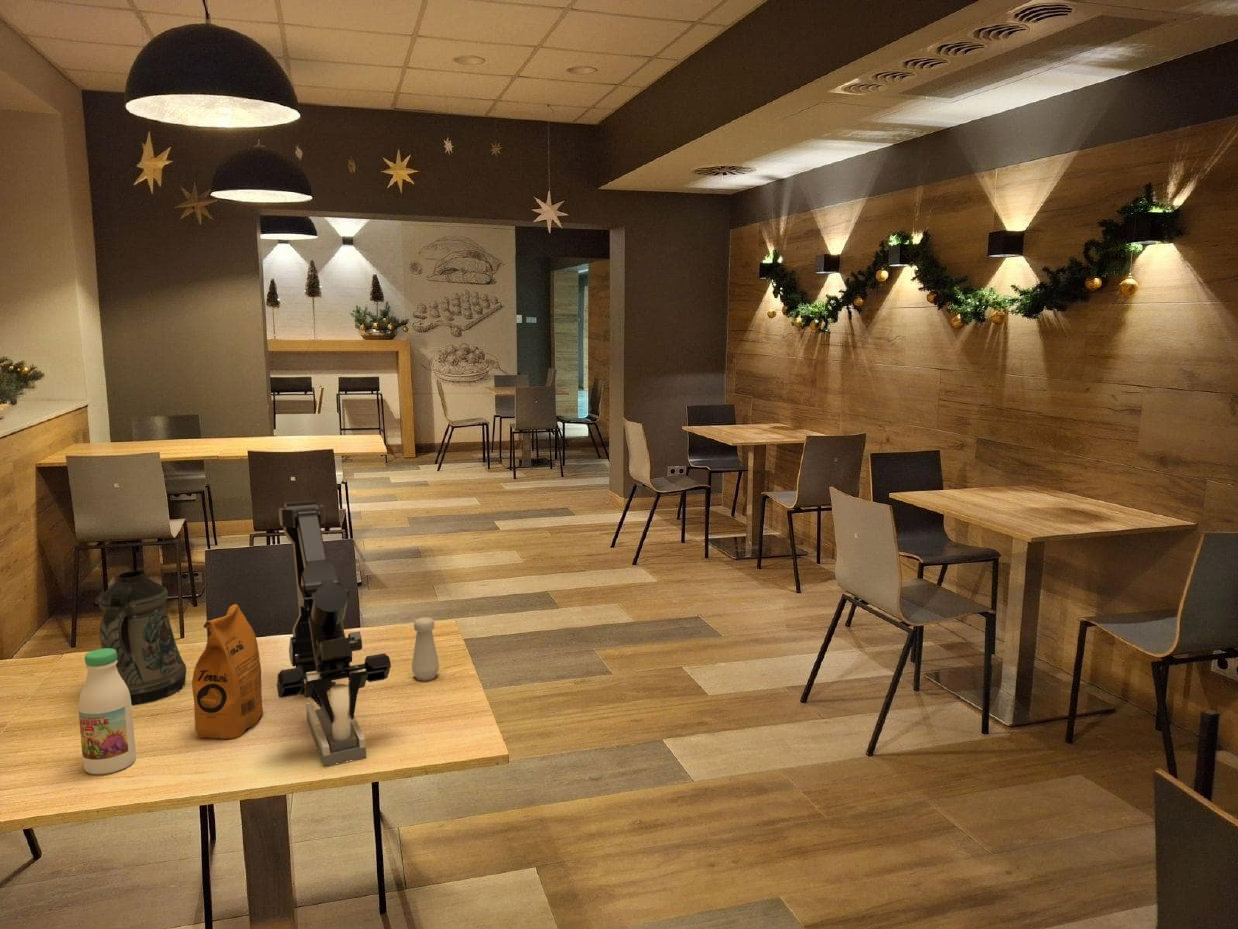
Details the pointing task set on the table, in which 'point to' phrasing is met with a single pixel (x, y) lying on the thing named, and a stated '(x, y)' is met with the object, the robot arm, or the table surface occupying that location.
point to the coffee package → (228, 679)
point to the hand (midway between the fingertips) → (342, 720)
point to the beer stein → (141, 637)
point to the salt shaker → (424, 650)
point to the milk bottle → (105, 716)
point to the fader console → (323, 728)
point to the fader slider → (341, 720)
